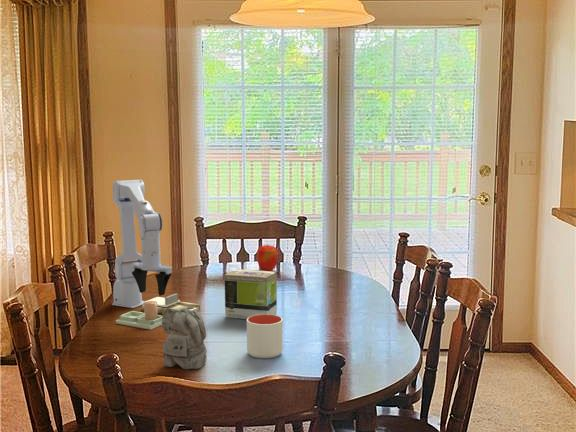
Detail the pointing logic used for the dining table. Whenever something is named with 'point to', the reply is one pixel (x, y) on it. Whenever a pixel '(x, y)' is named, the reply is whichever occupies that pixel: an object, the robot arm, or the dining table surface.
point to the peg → (150, 310)
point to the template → (178, 307)
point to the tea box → (250, 293)
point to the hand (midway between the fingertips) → (152, 293)
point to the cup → (264, 336)
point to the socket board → (138, 320)
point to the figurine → (184, 338)
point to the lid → (165, 300)
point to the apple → (267, 257)
